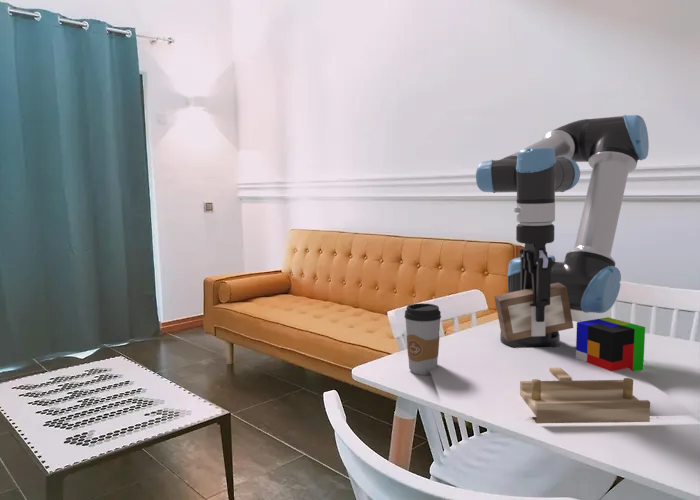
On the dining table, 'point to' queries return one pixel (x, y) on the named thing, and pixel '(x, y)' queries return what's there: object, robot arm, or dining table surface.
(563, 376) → the block
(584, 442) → the dining table surface
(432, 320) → the coffee cup
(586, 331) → the puzzle toy
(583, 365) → the dining table surface
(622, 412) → the ledge
